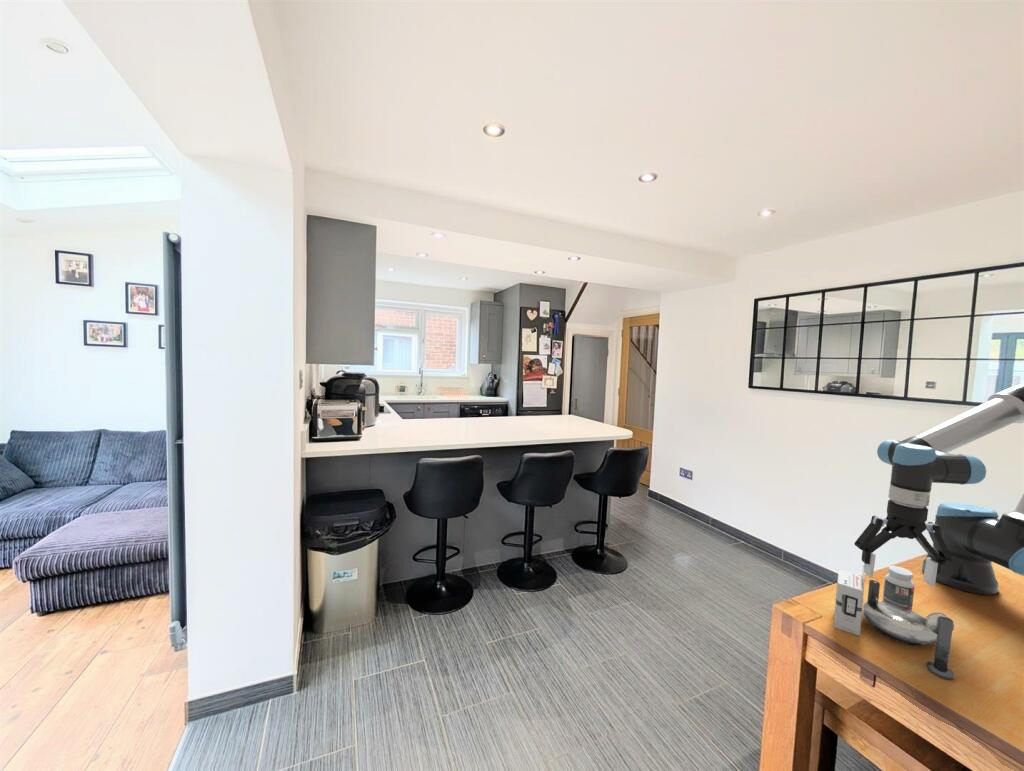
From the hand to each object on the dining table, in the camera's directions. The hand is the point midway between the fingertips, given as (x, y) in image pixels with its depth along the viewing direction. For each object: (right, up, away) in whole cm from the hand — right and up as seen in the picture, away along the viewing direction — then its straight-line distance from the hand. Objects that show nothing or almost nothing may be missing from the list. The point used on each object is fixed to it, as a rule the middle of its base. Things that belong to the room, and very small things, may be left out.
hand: (897, 579), depth 105 cm
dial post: (-12, -9, -21) cm, 26 cm away
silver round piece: (-9, -6, -10) cm, 15 cm away
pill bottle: (0, -8, +1) cm, 8 cm away
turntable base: (-9, -8, -9) cm, 16 cm away
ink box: (-20, -8, -7) cm, 22 cm away
